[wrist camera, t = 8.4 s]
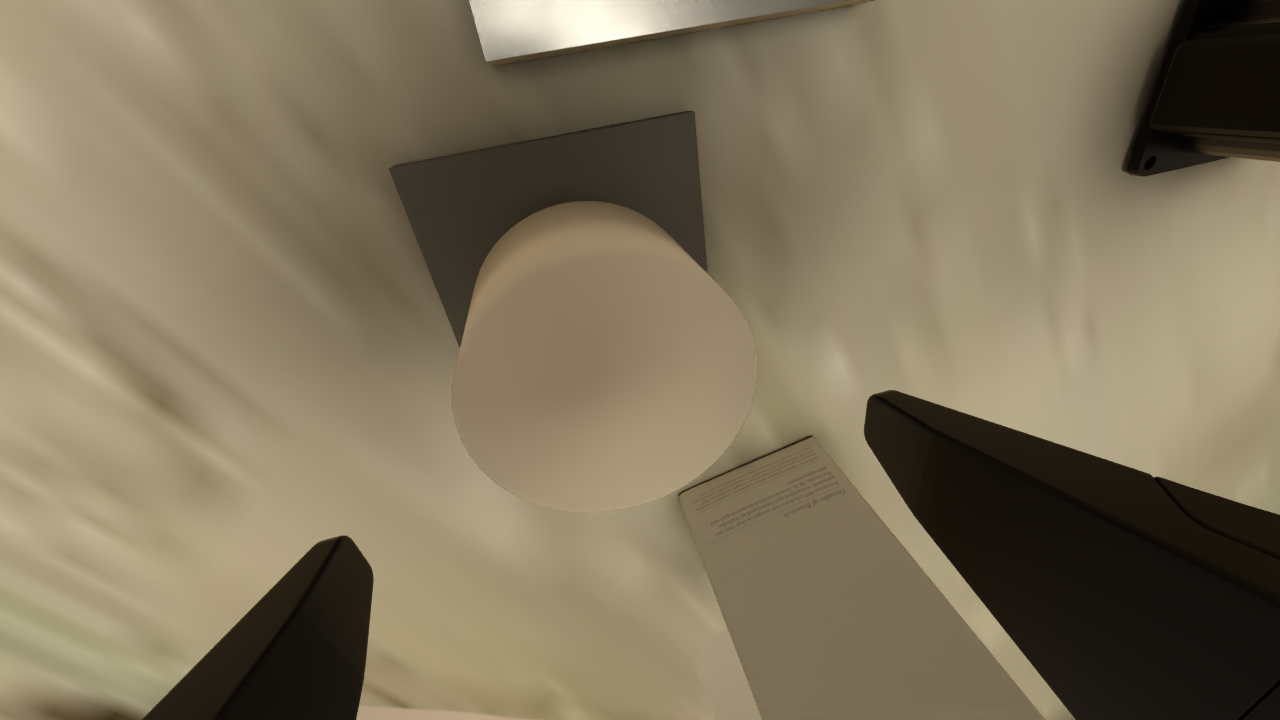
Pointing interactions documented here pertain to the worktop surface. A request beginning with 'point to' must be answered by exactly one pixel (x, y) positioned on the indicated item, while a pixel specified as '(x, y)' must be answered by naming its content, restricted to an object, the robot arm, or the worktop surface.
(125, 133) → the worktop surface
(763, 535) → the supplement box
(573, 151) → the rubber mat
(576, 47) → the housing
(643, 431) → the end cover
